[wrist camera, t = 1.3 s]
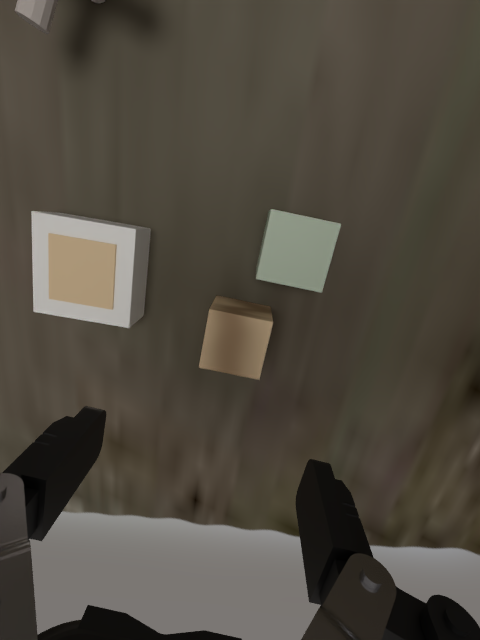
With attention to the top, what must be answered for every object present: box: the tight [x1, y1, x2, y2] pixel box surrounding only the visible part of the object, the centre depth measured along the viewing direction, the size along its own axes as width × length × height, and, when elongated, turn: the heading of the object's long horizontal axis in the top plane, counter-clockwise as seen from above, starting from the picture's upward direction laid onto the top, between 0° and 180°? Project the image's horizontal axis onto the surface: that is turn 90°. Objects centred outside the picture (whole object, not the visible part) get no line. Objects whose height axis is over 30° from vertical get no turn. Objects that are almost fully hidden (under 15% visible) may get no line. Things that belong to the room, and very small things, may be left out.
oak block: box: [199, 296, 273, 380], centre depth 28 cm, size 5×5×5 cm
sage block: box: [256, 209, 341, 293], centre depth 26 cm, size 5×5×5 cm
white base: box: [32, 211, 151, 328], centre depth 28 cm, size 8×8×4 cm
